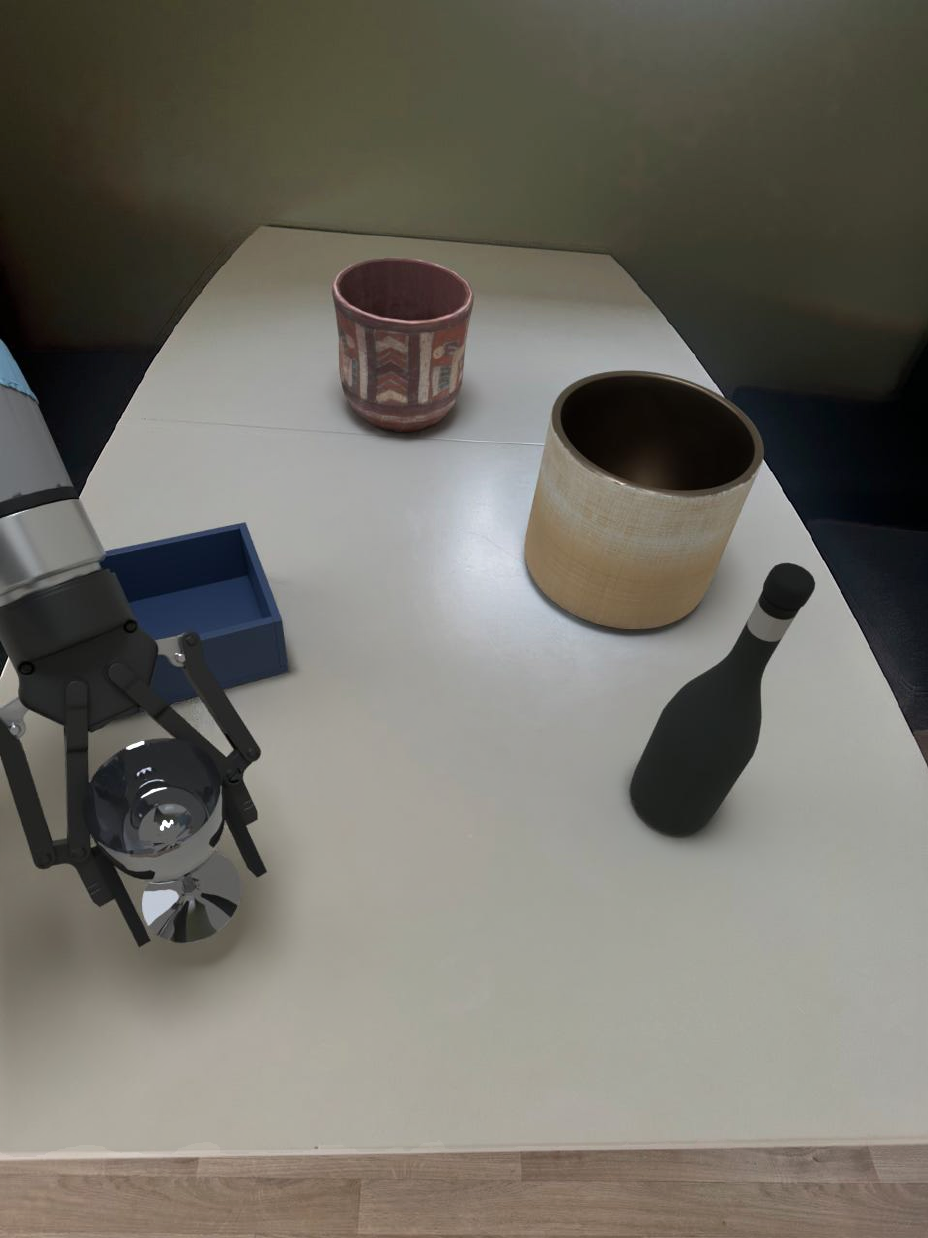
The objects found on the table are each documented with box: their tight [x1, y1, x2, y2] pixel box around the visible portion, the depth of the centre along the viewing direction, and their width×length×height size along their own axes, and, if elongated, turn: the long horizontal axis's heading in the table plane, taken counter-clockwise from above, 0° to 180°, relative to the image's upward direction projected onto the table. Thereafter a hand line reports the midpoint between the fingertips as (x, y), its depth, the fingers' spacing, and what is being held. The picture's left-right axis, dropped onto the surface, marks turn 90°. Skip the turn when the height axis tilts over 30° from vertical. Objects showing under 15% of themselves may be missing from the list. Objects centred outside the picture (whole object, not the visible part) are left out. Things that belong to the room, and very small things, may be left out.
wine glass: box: [83, 737, 243, 944], centre depth 54 cm, size 8×8×15 cm
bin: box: [100, 521, 290, 720], centre depth 80 cm, size 18×15×8 cm
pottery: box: [331, 257, 475, 433], centre depth 107 cm, size 18×18×18 cm
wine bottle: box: [630, 562, 816, 835], centre depth 64 cm, size 8×8×30 cm
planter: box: [524, 369, 765, 630], centre depth 88 cm, size 22×22×20 cm
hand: (201, 902), depth 53 cm, fingers closed on wine glass, 7 cm apart
